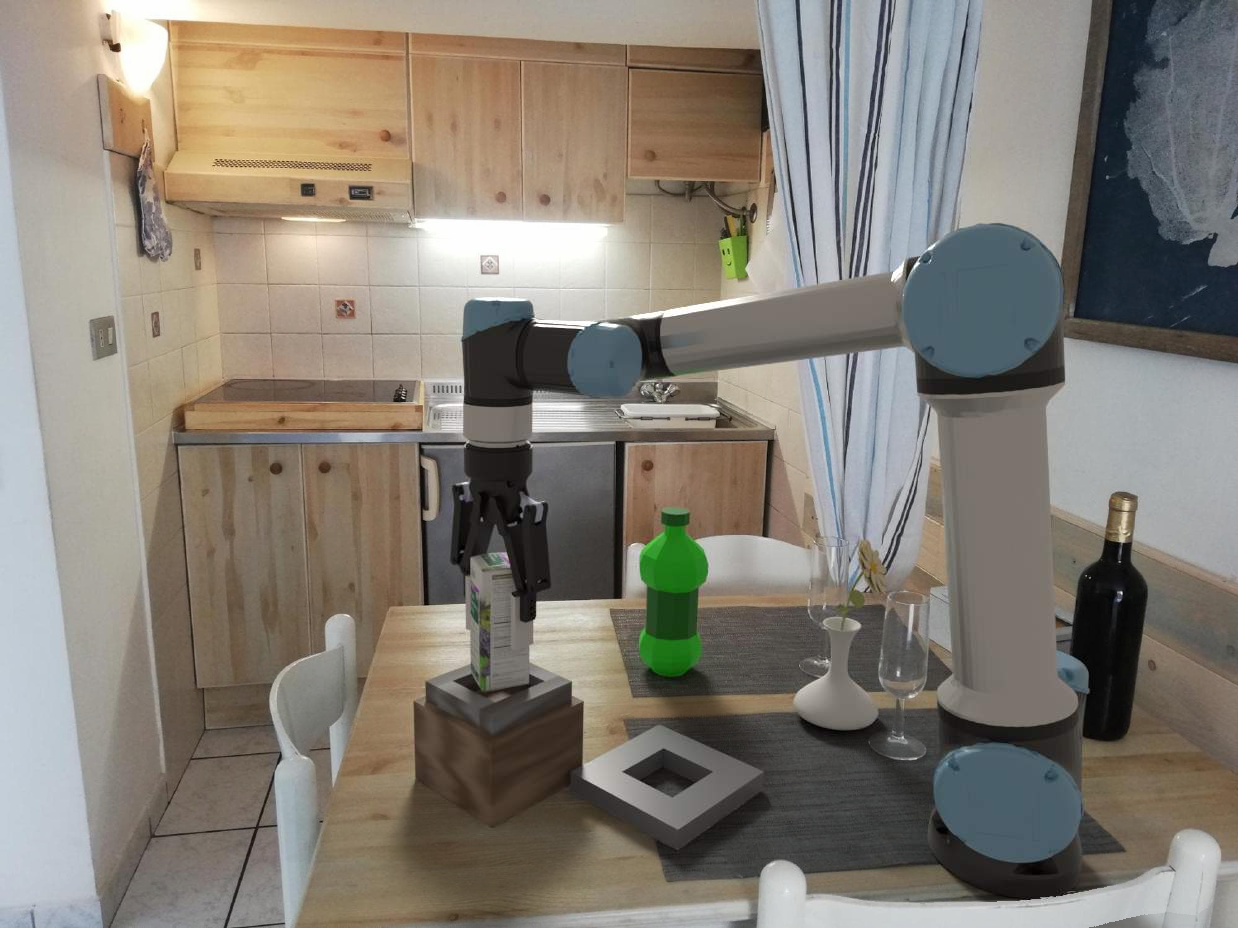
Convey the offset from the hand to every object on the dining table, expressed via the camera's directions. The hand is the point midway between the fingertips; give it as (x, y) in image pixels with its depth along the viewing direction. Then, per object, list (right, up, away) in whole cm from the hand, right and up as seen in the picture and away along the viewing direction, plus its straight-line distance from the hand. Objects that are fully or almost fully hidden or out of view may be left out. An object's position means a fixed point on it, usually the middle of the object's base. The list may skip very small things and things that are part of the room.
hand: (499, 635), depth 107 cm
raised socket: (0, -18, +4) cm, 18 cm away
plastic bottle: (+21, -12, +35) cm, 42 cm away
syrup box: (0, -5, +1) cm, 6 cm away
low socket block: (+19, -19, +2) cm, 27 cm away
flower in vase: (+44, -15, +21) cm, 51 cm away
